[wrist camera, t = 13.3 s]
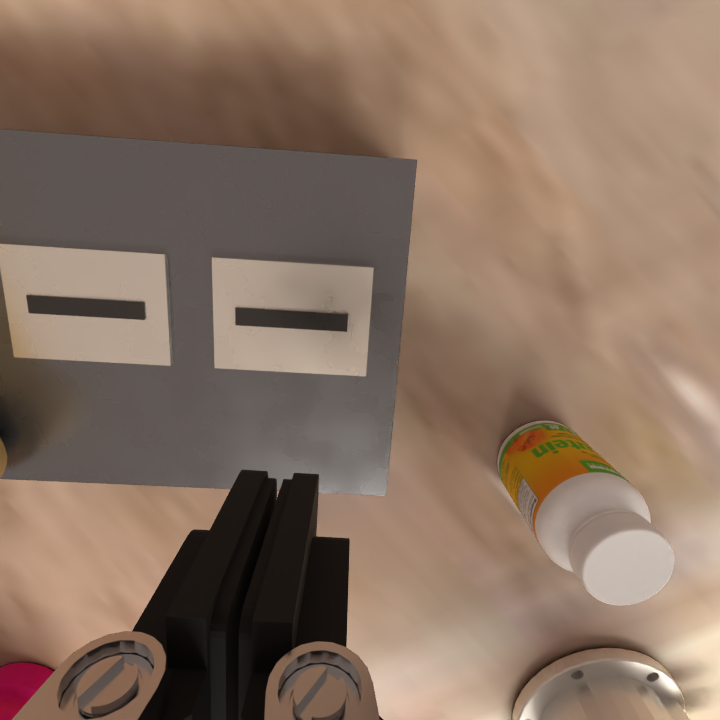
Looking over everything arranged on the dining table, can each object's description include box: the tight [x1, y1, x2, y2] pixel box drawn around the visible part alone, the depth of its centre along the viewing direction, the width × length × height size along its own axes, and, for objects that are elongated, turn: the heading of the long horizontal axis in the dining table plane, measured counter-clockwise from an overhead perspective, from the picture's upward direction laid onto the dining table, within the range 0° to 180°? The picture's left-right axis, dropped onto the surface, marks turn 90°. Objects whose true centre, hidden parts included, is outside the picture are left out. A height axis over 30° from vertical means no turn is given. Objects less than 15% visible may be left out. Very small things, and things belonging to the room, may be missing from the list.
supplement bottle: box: [497, 420, 674, 606], centre depth 24 cm, size 5×5×10 cm
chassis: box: [0, 129, 417, 496], centre depth 23 cm, size 22×16×5 cm
